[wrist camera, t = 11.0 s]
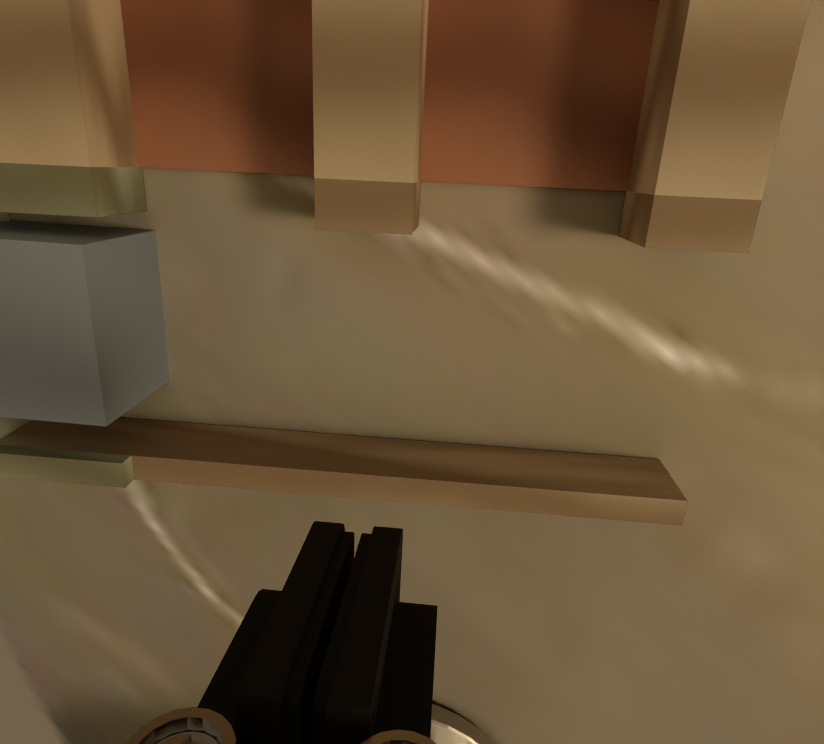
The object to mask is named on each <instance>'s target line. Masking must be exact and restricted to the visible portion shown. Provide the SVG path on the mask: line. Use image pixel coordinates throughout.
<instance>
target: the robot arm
mask: <svg viewBox="0 0 824 744" xmlns="http://www.w3.org/2000/svg"><path fill="white" fill-rule="evenodd" d="M402 541H403V529H399V528H388V527H376V526H374V528H373V531H372V534H366V533H362V535H361V538H360V541H359V544H358V548H357V551H356V554H355V558H354V533H353V532H345V528H344V524H342V523H330V522H319V521H315V522H314V523H313V525H312V527H311V529H310V531H309V533H308V535H307V538H306V540H305V542H304V544H303V546H302V548H301V551H300V553H299V555H298V557H297V559H296V561H295V564H294V566H293V568H292V570H291V572H290V574H289V577H288V579H287V581H286V583H285V585H284V587H283V590H282V591H277V590H266V589H262V590H260V591H259V592H258V593H257V595H256V596H255V598H254V600H253V602H252V604H251V606H250V608H249V609H248V611H247V613H246V615H245V617H244V619H243V621H242V623H241V625H240V627H239V629H238V630H237V632H236V634H235V636H234V638H233V640H232V642H231V644H230V646H229V648H228V650H227V651H226V653H225V655H224V657H223V659H222V661H221V663H220V665H219V667H218V669H217V671H216V673H215V674H214V676H213V678H212V680H211V682H210V684H209V686H208V688H207V690H206V692H205V694H204V695H203V697H202V699H201V701H200V703H199V705H198V707H197V708H195V707H191V708H185V709H179V710H174V711H172V712H169V713H167V714H164V715H161V716H159V717H157V718H155V719H154V720H152V721H151V722H149V723H148V724H146V725H145V726H143V727H142V728H140V729H139V730H138V731H137V732H136V733H135V734H134V735H133V736H132V737H131V738H130V739H129V740H128V741H127V743H126V744H494V743H493V742H492V741H491V740H490V739H489V738H488V737H487V736H486V735H485V734H484V733H483V732H482V731H481V730H480V729H479V728H477V727H476V726H474V725H473V724H471V723H470V722H468V721H467V720H465V719H464V718H462V717H461V716H459V715H457V714H455V713H453V712H451V711H448V710H446V709H444V708H442V707H440V706H437V705H434V704H432V697H433V678H434V659H435V640H436V621H437V606H435V605H424V604H414V603H403V602H399V599H400V580H401V561H402Z"/></svg>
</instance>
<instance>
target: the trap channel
mask: <svg viewBox="0 0 824 744" xmlns="http://www.w3.org/2000/svg"><path fill="white" fill-rule="evenodd" d="M810 2H811V0H0V222H3V221H10V218H9V213H28V214H46V215H64V216H82V217H104V216H111V215H119V214H126V213H134V212H141V211H147V208H146V199H145V190H144V181H143V172H142V167H143V168H163V169H184V170H204V171H224V172H245V173H265V174H285V175H306V176H314V197H315V229H318V230H336V231H355V232H373V233H391V234H409V235H412V233H413V232H414V231H415V229H416V228H417V227H418V224H419V202H420V181H428V182H448V183H468V184H489V185H509V186H529V187H550V188H570V189H590V190H611V191H626V195H625V201H624V207H623V213H622V219H621V225H620V231H619V237H622V238H624V239H626V240H629V241H631V242H633V243H636V244H638V245H640V246H643V247H645V248H663V249H682V250H700V251H718V252H736V253H749V250H750V246H751V242H752V238H753V234H754V229H755V225H756V221H757V217H758V213H759V209H760V205H761V201H762V197H763V193H764V189H765V185H766V181H767V177H768V173H769V168H770V164H771V160H772V156H773V152H774V148H775V144H776V140H777V136H778V132H779V128H780V124H781V120H782V116H783V112H784V107H785V103H786V99H787V95H788V91H789V87H790V83H791V79H792V75H793V71H794V67H795V63H796V59H797V55H798V50H799V46H800V42H801V38H802V34H803V30H804V26H805V22H806V18H807V14H808V10H809V6H810ZM8 212H9V213H8ZM0 477H5V478H17V479H29V480H41V481H52V482H64V483H76V484H88V485H99V486H111V487H123V488H126V487H127V486H128V485H129V484H130V483H131V482H132V481H133V480H134V479H137V480H149V481H161V482H173V483H185V484H197V485H209V486H220V487H232V488H244V489H256V490H268V491H280V492H292V493H303V494H315V495H327V496H339V497H351V498H363V499H375V500H387V501H398V502H410V503H422V504H434V505H446V506H458V507H470V508H481V509H493V510H505V511H517V512H529V513H541V514H553V515H565V516H576V517H588V518H600V519H612V520H624V521H636V522H648V523H659V524H671V525H682V522H683V518H684V514H685V510H686V506H687V502H688V501H687V499H686V498H685V496H684V495H683V493H682V492H681V490H680V489H679V487H678V486H677V485H676V483H675V482H674V480H673V479H672V477H671V476H670V474H669V473H668V471H667V470H666V468H665V467H664V465H663V464H662V463H661V461H660V460H659V459H650V458H637V457H624V456H611V455H598V454H585V453H572V452H559V451H546V450H533V449H521V448H508V447H495V446H482V445H469V444H456V443H443V442H430V441H417V440H404V439H391V438H378V437H366V436H353V435H340V434H327V433H314V432H301V431H288V430H275V429H262V428H249V427H236V426H224V425H211V424H198V423H185V422H172V421H159V420H146V419H133V418H120V417H119V418H117V419H116V420H115V421H113V422H112V423H110V424H109V425H108V426H95V425H85V424H74V423H63V422H52V421H41V420H30V419H19V418H8V417H0Z"/></svg>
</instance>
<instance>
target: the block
mask: <svg viewBox="0 0 824 744" xmlns="http://www.w3.org/2000/svg"><path fill="white" fill-rule="evenodd" d="M168 381H169V373H168V362H167V352H166V341H165V330H164V320H163V309H162V298H161V288H160V277H159V266H158V256H157V245H156V235H155V230H142V229H128V228H115V227H101V226H87V225H73V224H59V223H45V222H31V221H17V220H12V221H3V222H0V417H8V418H19V419H30V420H41V421H52V422H63V423H74V424H85V425H95V426H108V425H109V424H110V423H112V422H113V421H115V420H116V419H117V418H119V417H120V416H122V415H123V414H124V413H126V412H127V411H128V410H130V409H131V408H133V407H134V406H135V405H137V404H138V403H139V402H141V401H142V400H144V399H145V398H146V397H148V396H149V395H151V394H152V393H153V392H155V391H156V390H157V389H159V388H160V387H162V386H163V385H164V384H166V383H167V382H168Z"/></svg>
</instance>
